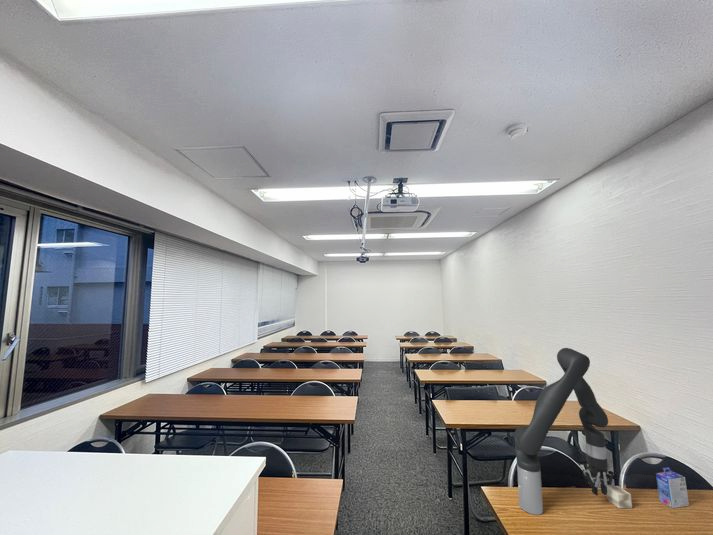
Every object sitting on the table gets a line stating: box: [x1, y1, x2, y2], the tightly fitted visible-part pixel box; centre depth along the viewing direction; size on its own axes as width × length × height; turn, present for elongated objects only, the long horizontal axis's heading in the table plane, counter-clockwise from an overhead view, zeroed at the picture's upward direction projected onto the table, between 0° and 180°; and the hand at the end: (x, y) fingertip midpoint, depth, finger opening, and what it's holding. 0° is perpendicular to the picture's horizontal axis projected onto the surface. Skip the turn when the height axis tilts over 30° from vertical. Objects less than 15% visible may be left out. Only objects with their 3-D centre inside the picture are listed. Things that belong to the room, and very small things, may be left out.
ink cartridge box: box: [655, 466, 690, 509], centre depth 135 cm, size 10×6×14 cm, turn 101°
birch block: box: [606, 485, 633, 510], centre depth 134 cm, size 6×6×6 cm
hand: (599, 494), depth 133 cm, fingers open, 3 cm apart
